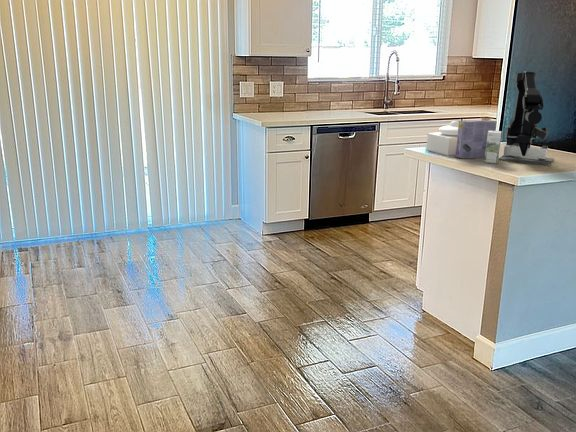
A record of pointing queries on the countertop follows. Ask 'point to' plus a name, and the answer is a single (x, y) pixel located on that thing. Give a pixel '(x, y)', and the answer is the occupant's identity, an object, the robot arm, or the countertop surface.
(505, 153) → the steel bar
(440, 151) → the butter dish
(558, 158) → the countertop surface
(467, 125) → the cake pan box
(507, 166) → the countertop surface
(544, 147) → the hook posts
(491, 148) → the syrup box
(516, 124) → the robot arm
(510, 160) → the mat
